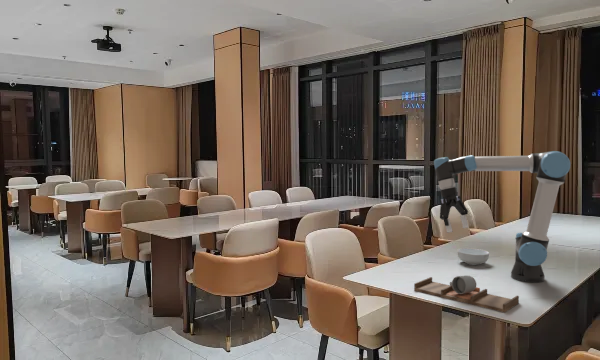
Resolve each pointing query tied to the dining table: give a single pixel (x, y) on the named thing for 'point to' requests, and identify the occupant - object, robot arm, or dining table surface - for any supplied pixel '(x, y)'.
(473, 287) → the ceramic mug
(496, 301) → the rack
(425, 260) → the dining table surface
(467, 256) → the cereal bowl
